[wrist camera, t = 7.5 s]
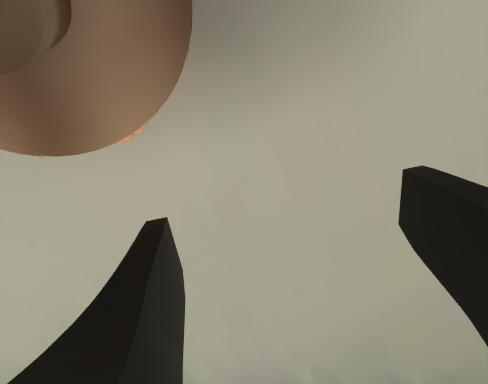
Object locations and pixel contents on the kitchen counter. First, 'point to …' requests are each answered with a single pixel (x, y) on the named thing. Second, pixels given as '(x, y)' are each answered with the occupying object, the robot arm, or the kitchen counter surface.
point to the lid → (86, 70)
